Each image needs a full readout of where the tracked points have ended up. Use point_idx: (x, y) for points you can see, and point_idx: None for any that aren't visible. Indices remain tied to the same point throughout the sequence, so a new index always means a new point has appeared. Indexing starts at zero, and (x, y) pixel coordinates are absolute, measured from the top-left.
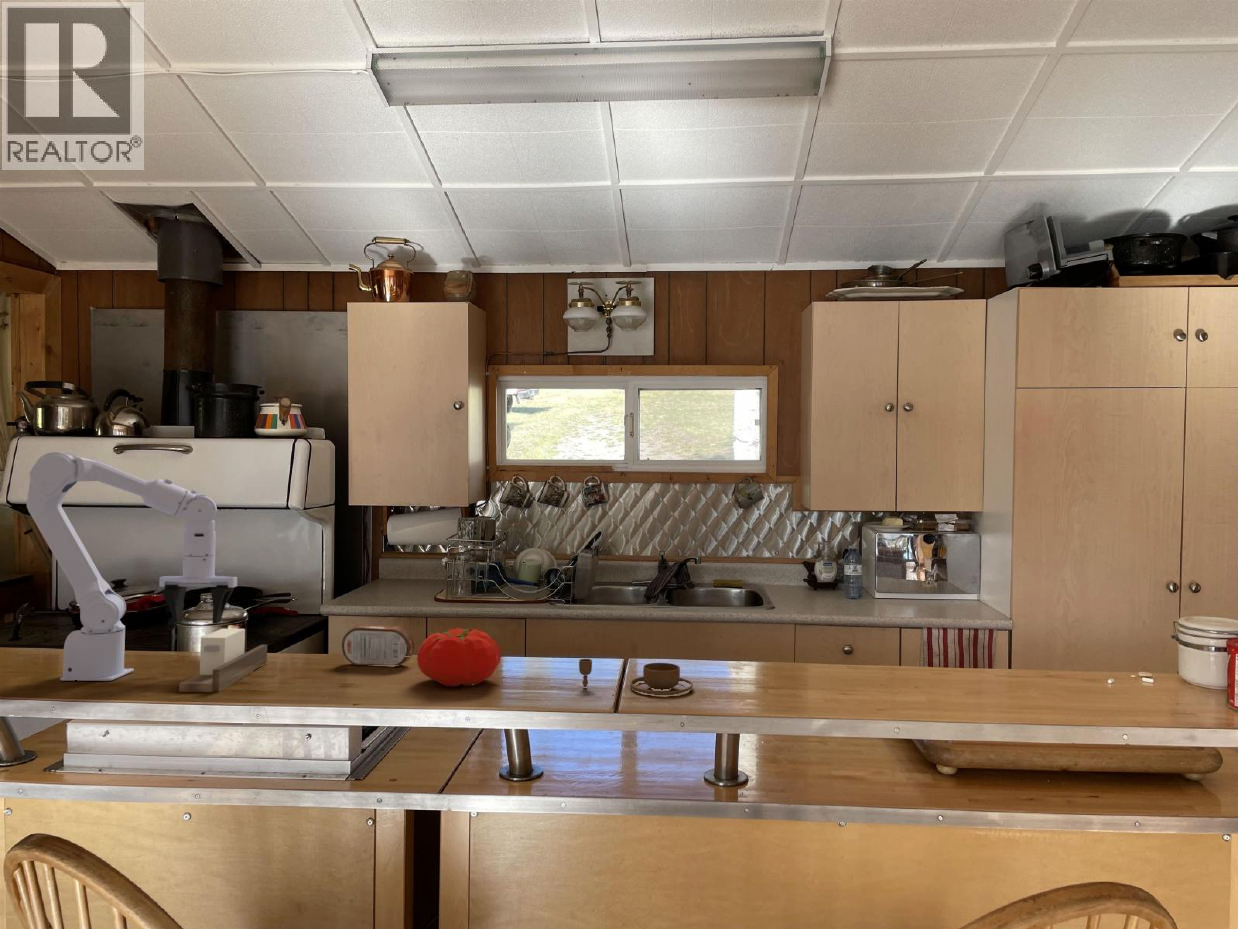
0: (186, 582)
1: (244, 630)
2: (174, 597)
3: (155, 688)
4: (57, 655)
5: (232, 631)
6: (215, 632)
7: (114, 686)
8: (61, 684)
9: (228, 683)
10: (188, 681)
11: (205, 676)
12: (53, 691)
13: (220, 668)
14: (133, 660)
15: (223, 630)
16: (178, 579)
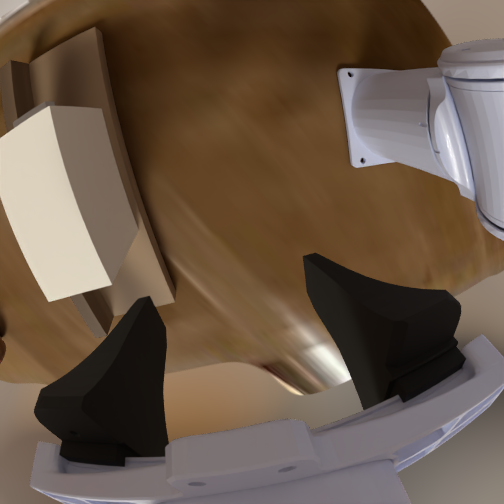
0: (263, 424)
1: (48, 295)
2: (367, 312)
3: (180, 34)
4: (487, 249)
5: (40, 252)
6: (71, 214)
7: (295, 33)
8: (406, 53)
9: None
10: (85, 47)
11: (76, 100)
12: (379, 4)
13: (1, 78)
14: (400, 256)
15: (78, 257)
16: (411, 428)
